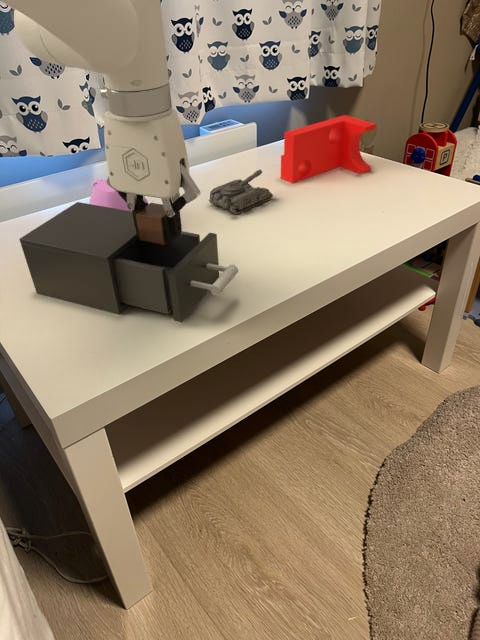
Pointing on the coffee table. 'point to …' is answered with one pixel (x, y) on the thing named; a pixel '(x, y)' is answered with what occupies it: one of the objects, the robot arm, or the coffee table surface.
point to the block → (151, 223)
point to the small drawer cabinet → (80, 255)
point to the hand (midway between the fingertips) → (159, 234)
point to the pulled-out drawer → (171, 273)
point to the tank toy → (239, 195)
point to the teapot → (107, 196)
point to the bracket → (324, 148)
